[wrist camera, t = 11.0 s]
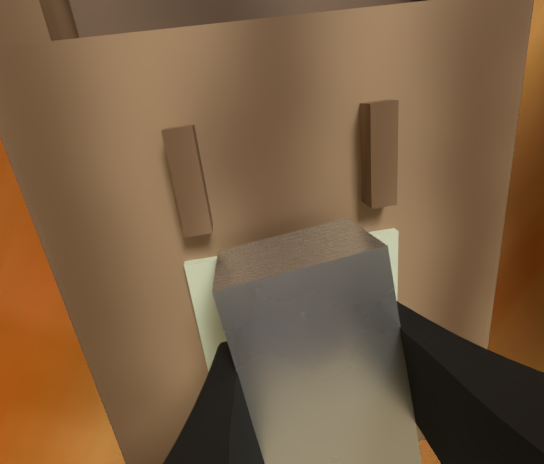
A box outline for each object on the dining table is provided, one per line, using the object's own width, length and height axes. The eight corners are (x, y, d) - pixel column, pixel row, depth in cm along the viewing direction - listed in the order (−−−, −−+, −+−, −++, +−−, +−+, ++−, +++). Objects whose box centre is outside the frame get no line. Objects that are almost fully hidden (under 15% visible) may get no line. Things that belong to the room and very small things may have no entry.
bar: (346, 217, 11) (387, 245, 8) (397, 490, 14) (440, 583, 11) (217, 251, 11) (211, 291, 8) (296, 519, 14) (313, 621, 11)
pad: (394, 227, 12) (398, 231, 12) (391, 446, 16) (394, 452, 16) (184, 261, 11) (183, 265, 11) (234, 478, 15) (234, 486, 15)
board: (488, -277, 10) (630, -476, 7) (439, 379, 19) (489, 444, 15) (-75, -251, 9) (-268, -477, 5) (152, 435, 18) (135, 519, 14)
